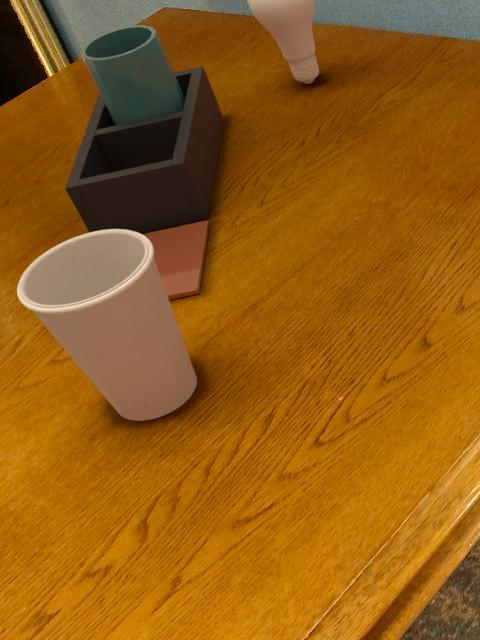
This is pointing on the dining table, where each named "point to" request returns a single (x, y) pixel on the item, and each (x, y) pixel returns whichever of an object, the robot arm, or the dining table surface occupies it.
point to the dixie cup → (113, 320)
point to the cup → (133, 74)
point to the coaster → (180, 257)
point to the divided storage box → (149, 164)
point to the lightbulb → (291, 32)
